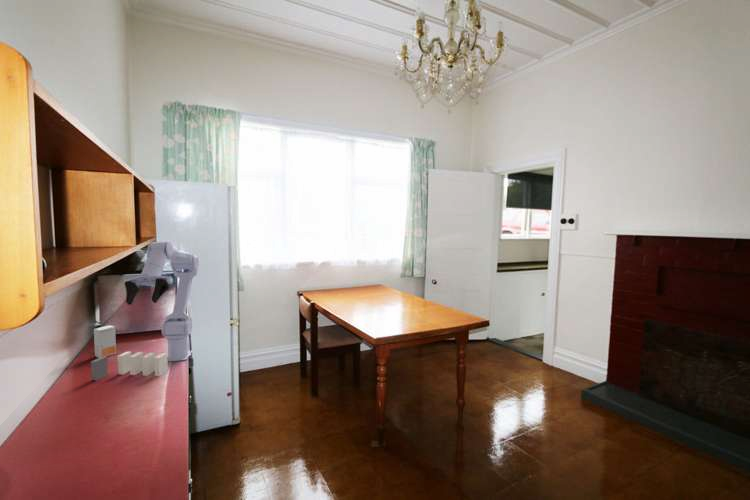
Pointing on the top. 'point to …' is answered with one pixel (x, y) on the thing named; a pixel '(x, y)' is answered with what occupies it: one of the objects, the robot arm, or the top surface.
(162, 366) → the ivory domino
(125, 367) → the ivory domino
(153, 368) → the ivory domino
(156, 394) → the top surface
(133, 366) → the ivory domino
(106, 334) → the skincare box
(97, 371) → the charcoal domino
